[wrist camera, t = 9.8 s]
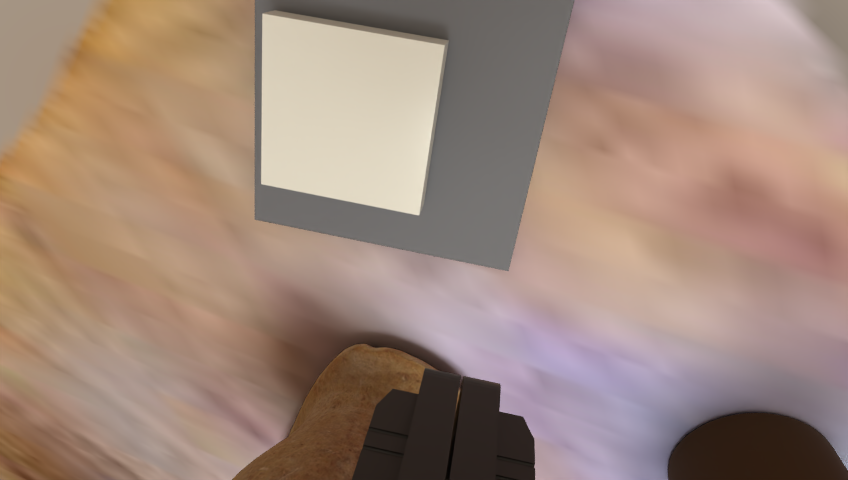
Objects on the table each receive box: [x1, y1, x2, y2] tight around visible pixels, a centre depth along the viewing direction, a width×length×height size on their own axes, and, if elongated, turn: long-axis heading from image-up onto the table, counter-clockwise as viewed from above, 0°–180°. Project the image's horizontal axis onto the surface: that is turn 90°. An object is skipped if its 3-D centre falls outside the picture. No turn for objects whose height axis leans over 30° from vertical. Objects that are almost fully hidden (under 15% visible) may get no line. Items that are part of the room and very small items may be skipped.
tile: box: [261, 10, 449, 215], centre depth 27 cm, size 2×8×8 cm
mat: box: [255, 0, 574, 271], centre depth 28 cm, size 14×14×1 cm
